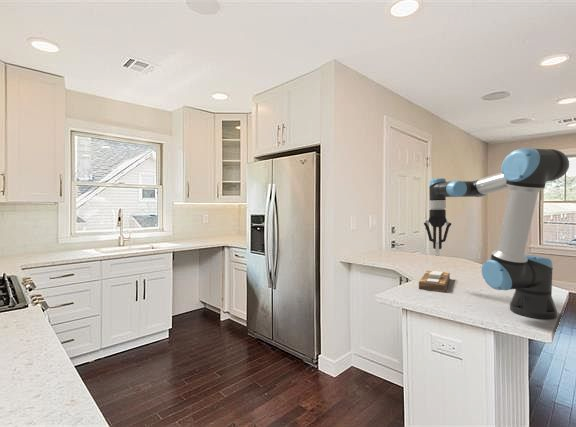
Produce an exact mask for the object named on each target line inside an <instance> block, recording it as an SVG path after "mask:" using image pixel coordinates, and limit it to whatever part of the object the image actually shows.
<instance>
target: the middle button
mask: <svg viewBox="0 0 576 427" xmlns="http://www.w3.org/2000/svg"><path fill="white" fill-rule="evenodd" d="M429 278H434V279H441V273H434V272H430V274H429Z"/></svg>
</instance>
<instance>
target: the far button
mask: <svg viewBox="0 0 576 427" xmlns="http://www.w3.org/2000/svg"><path fill="white" fill-rule="evenodd" d="M431 271H432V272H434V273H441V275H443V272H444V271H437V270H431Z"/></svg>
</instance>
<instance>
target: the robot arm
mask: <svg viewBox="0 0 576 427" xmlns="http://www.w3.org/2000/svg"><path fill="white" fill-rule="evenodd" d="M569 168H570V161H569V158H568V156H567V154H565V153H564V152H562V151H560V150H558V149H554V148H548V149H547V148H531V147H526V148H518V149H515V150H513V151H511V152H509V153H508V154H507V155H506V157H505V158H504V159H503V161H502V164H501V172H498V173H494V174H492V175H488V176H485V177H482V178H479V179H477V180H473V181H472V180H471V181H469V180H467V181H466V180H450V181H447V180H446V178H439V177H437V178H431V179H430V180H429V186H428V187H429V192H428V193H429V214H428V215H429V218H428V220H427V221H426V222H424V223H423V225H424V226H425V228H426V233H427V235H428V239H429V240H428V241H429V242H432V244H433V245H432V246H433V249H435V256H436V257H437V256H438V257H439V256H440V250H442V246H443V245H442V244H443V243H444V242H447V241H446V240H447V237H448V232H449V230H450V227H451V226H452V223H451V222H449V221H448V220H447V217H446V216H447V213H446V212H447V210H446V206H447V201H446V200H447V199H446V198H463V197H464V198H466V197H467V198H468V197H470V198H471V197H472V198H473V197H475V198H480V197H485V196H487V195H488V194H491V193H495V192H496V193H497V192H499V191H504V190H507V189H509V191H508V195H507V200H506V206H505V210H504V216H503V219H502V220H503V221H502V226H501V229H500V236H499V240H498V243H497V244H498V245H497V249H495V250H493V251H492V252H491V255H490V259H487V260H486V261H485V262H483V263H482V266H481V274H482V278H483V279H484V281H485V282H484V283H486V284H487V286H488V287H491V289H494V290H497V291H509V290H510V291H511V290H514V291H515V292H514V293H513V296H512V298H511V301H510V303H509V310H510V311H511V312H513V313H515V314H517V315H521V316H524V317H528V318H533V319H541V320H542V319H543V320H551V319H556V318H557V317H558V310H557V308H556V307H557V306H556V304H555V301H554V299H553V295H552V292H553V291H552V290H553V289H552V288H553V270H554V268H553V261H552V259H551V258H549V257H544V256H540V255H539V256H537V255H531V254H525V252H526V248H527V242H528V238H529V234H530V230H531V226H532V221H533V216H534V212H535V208H536V204H537V199H538V194H539V192H540V191H542V190H544V189H545V187H546V182H553V181H556V180H559V179H561V178H562V177H564V176H565V175H566V174H567V172H568V171H569ZM430 225H431V227H432V231H431V230H430V229H431V228H430ZM443 226H446V227H445V231H444V234H443V235H442V231H443ZM437 228H438V242H437ZM431 232H432V233H431ZM432 235H433V236H432Z"/></svg>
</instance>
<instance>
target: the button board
mask: <svg viewBox="0 0 576 427" xmlns="http://www.w3.org/2000/svg"><path fill="white" fill-rule="evenodd" d="M432 271H433V270H426V272H425V273H424V274H423V276H422V277H421V279H420V280H419V281H418V290H424V291H432V292H438V293H439V292H441V293H446V291H447V287H448V285H449V282H450V278H451V276H450V274H451V273H450V272H444V271H442V272H443V275H441V279H439V283H430V282H427V279H428V278H429V274H430V272H432ZM430 279H434V278H430Z"/></svg>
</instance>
